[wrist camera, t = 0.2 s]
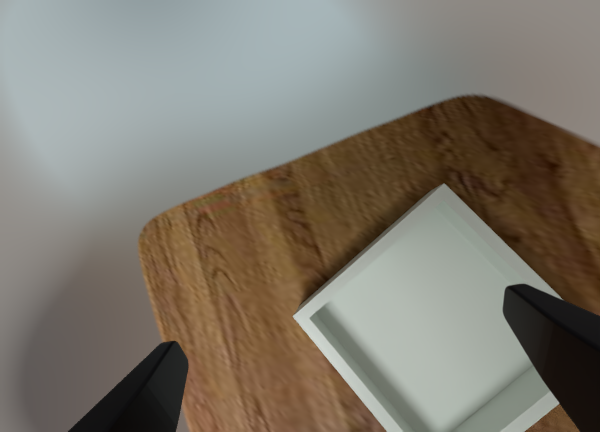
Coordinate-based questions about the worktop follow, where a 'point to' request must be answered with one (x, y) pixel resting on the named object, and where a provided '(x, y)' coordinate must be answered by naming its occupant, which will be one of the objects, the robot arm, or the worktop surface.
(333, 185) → the worktop surface
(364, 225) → the worktop surface
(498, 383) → the tray
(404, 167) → the worktop surface
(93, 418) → the robot arm
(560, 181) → the worktop surface
